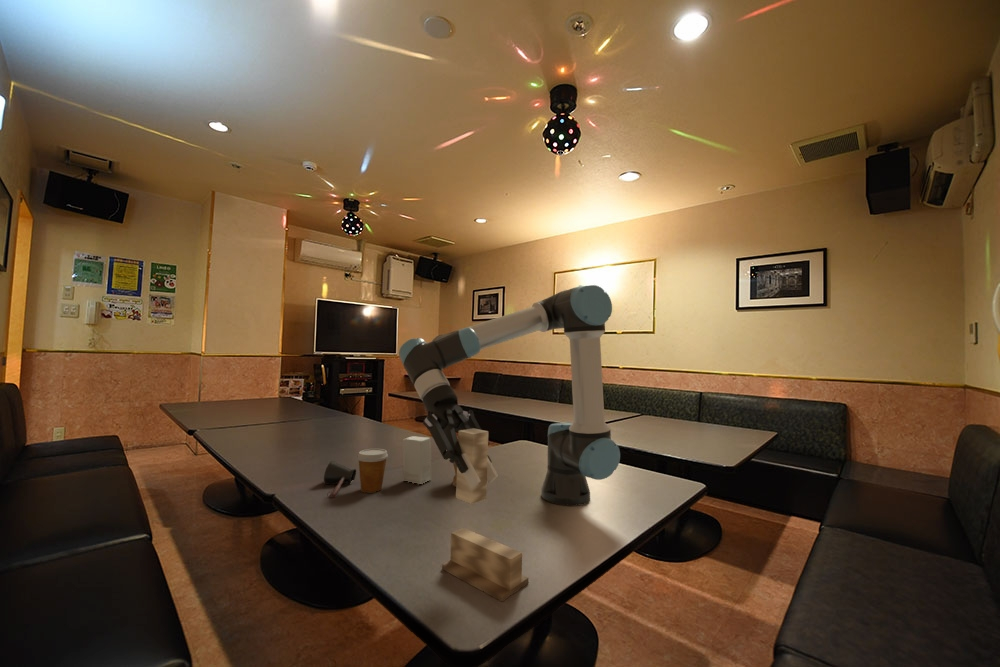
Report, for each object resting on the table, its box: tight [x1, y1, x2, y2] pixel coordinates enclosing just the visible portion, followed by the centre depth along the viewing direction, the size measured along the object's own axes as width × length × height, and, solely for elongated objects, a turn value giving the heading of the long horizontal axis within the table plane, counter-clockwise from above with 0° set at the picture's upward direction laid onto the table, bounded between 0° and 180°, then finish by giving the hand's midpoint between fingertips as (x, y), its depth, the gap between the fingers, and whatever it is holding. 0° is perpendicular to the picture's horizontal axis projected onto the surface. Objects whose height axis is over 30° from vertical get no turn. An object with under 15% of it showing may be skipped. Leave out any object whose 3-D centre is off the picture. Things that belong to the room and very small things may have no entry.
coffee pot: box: [323, 460, 357, 499], centre depth 129 cm, size 8×18×8 cm
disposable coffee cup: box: [356, 448, 389, 493], centre depth 128 cm, size 10×10×12 cm
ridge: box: [441, 527, 529, 602], centre depth 80 cm, size 16×8×6 cm, turn 50°
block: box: [455, 428, 489, 505], centre depth 84 cm, size 4×4×14 cm
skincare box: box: [402, 435, 432, 485], centre depth 138 cm, size 8×6×15 cm
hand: (484, 481), depth 81 cm, fingers closed on block, 4 cm apart
